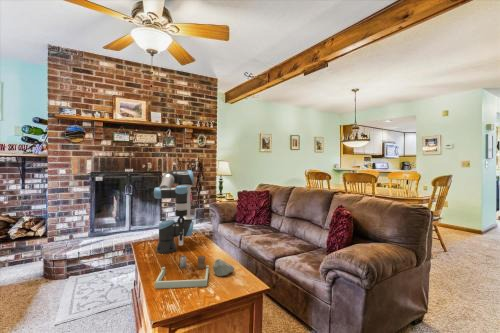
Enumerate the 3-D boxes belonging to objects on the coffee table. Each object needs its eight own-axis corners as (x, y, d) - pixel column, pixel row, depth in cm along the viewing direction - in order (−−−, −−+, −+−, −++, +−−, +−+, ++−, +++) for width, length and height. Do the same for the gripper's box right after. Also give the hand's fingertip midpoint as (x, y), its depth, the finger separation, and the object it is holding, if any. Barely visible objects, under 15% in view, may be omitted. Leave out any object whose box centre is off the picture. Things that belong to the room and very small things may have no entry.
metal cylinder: (180, 266, 167) (180, 256, 167) (186, 266, 168) (186, 255, 168) (179, 268, 163) (179, 258, 163) (185, 268, 164) (185, 258, 164)
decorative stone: (212, 278, 150) (222, 266, 148) (209, 265, 159) (218, 254, 158) (228, 284, 156) (238, 272, 155) (224, 271, 165) (233, 260, 164)
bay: (162, 273, 156) (162, 266, 155) (209, 272, 159) (209, 265, 159) (154, 288, 137) (154, 280, 137) (207, 286, 141) (207, 278, 141)
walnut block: (198, 266, 168) (198, 255, 168) (204, 265, 168) (205, 255, 168) (197, 269, 163) (197, 258, 163) (204, 268, 164) (204, 258, 164)
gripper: (176, 206, 173) (176, 236, 174) (174, 213, 149) (174, 248, 149) (187, 205, 175) (187, 235, 175) (187, 213, 151) (187, 247, 151)
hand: (181, 241), depth 162 cm, fingers open, 13 cm apart
